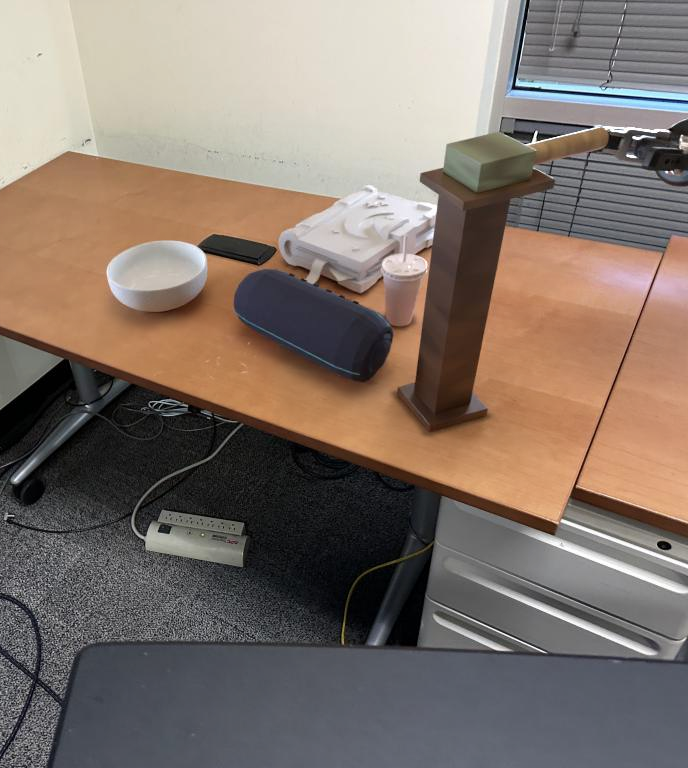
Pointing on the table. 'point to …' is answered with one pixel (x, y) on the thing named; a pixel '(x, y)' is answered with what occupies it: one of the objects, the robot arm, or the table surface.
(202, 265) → the cereal bowl
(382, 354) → the portable speaker
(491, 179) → the green wooden mallet
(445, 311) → the stand
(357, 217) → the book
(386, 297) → the smoothie
